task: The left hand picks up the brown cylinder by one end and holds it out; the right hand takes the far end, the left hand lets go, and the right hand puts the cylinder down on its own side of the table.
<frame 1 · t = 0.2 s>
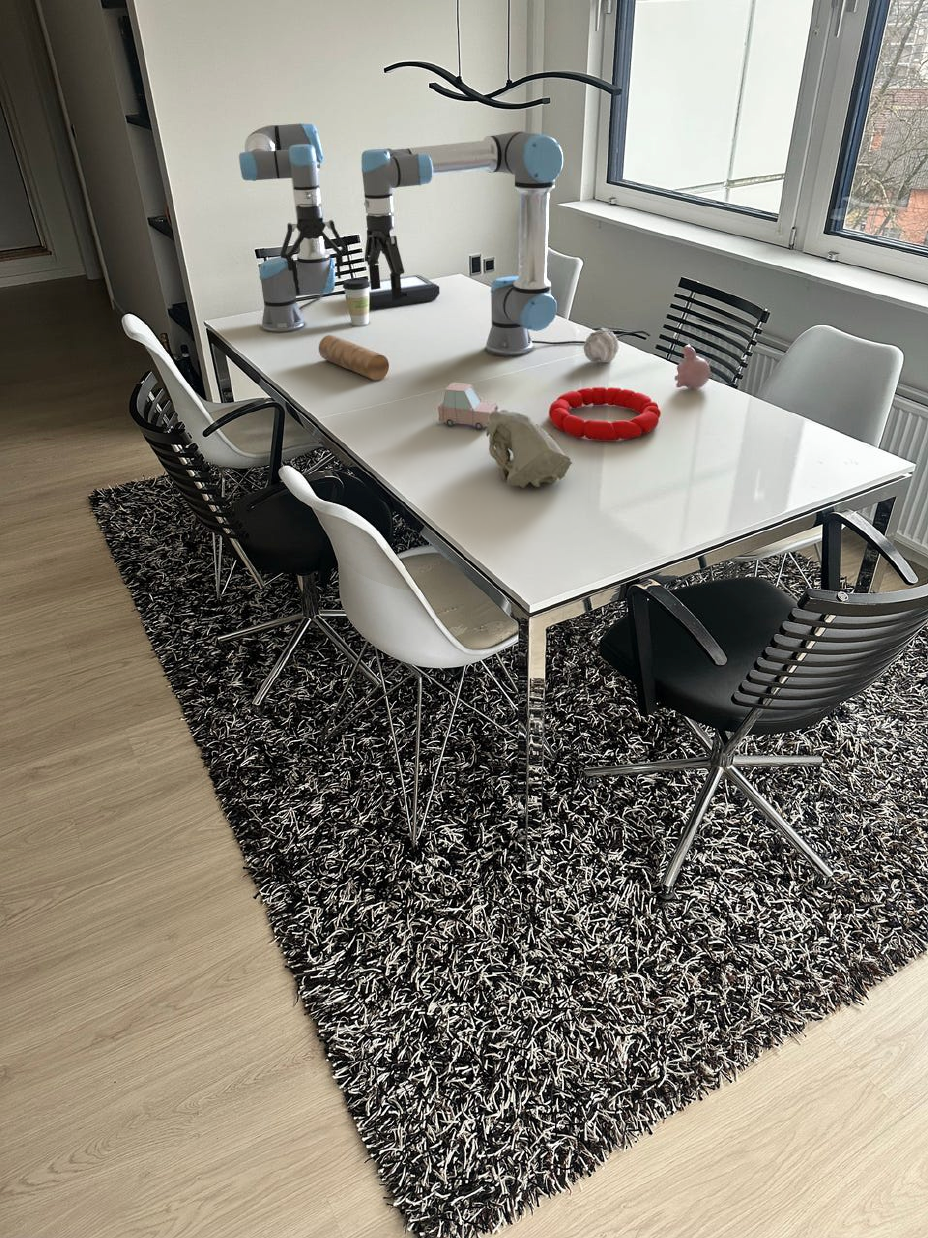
left hand: (317, 279, 273), 27 cm above the table, tool pointing down, fingers open, 13 cm apart
right hand: (386, 293, 254), 28 cm above the table, tool pointing down, fingers open, 13 cm apart
toy car: (468, 423, 246), on the table
electronic device: (393, 300, 351), on the table
brown cylinder: (354, 369, 285), on the table
coffee cup: (360, 323, 327), on the table
figurine: (690, 388, 263), on the table
animal skull: (520, 470, 220), on the table
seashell: (601, 362, 285), on the table
decorative ring: (603, 422, 244), on the table
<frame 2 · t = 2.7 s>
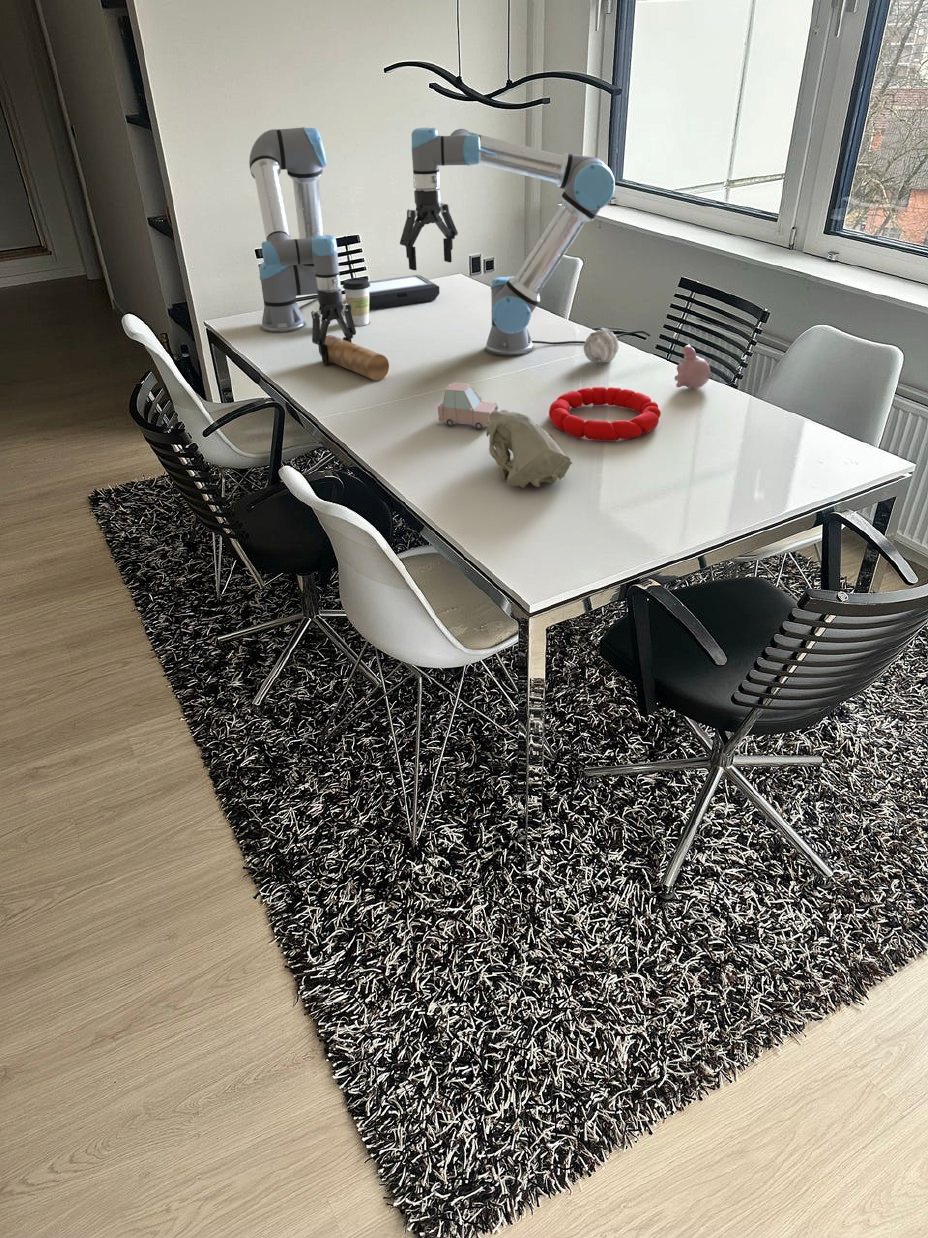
left hand: (337, 360, 292), 0 cm above the table, tool pointing down, fingers closed on brown cylinder, 8 cm apart
right hand: (430, 265, 270), 30 cm above the table, tool pointing down, fingers open, 13 cm apart
brown cylinder: (354, 369, 285), on the table, touching left hand
everything else where it was.
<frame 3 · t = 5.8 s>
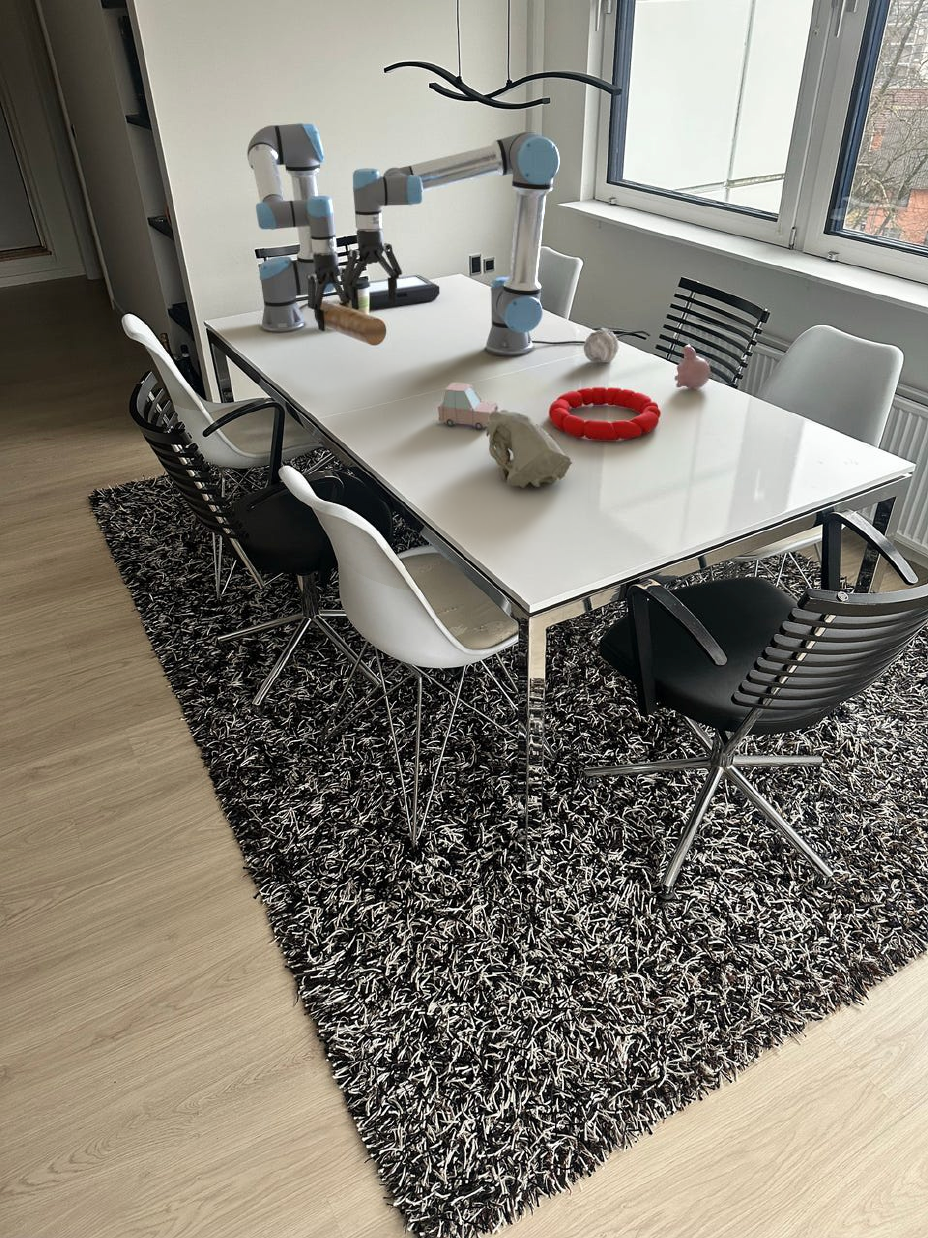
left hand: (333, 326, 285), 11 cm above the table, tool pointing down, fingers closed on brown cylinder, 8 cm apart
right hand: (374, 304, 268), 22 cm above the table, tool pointing down, fingers open, 13 cm apart
brown cylinder: (350, 335, 279), point 11 cm above the table, touching left hand
everything else where it was.
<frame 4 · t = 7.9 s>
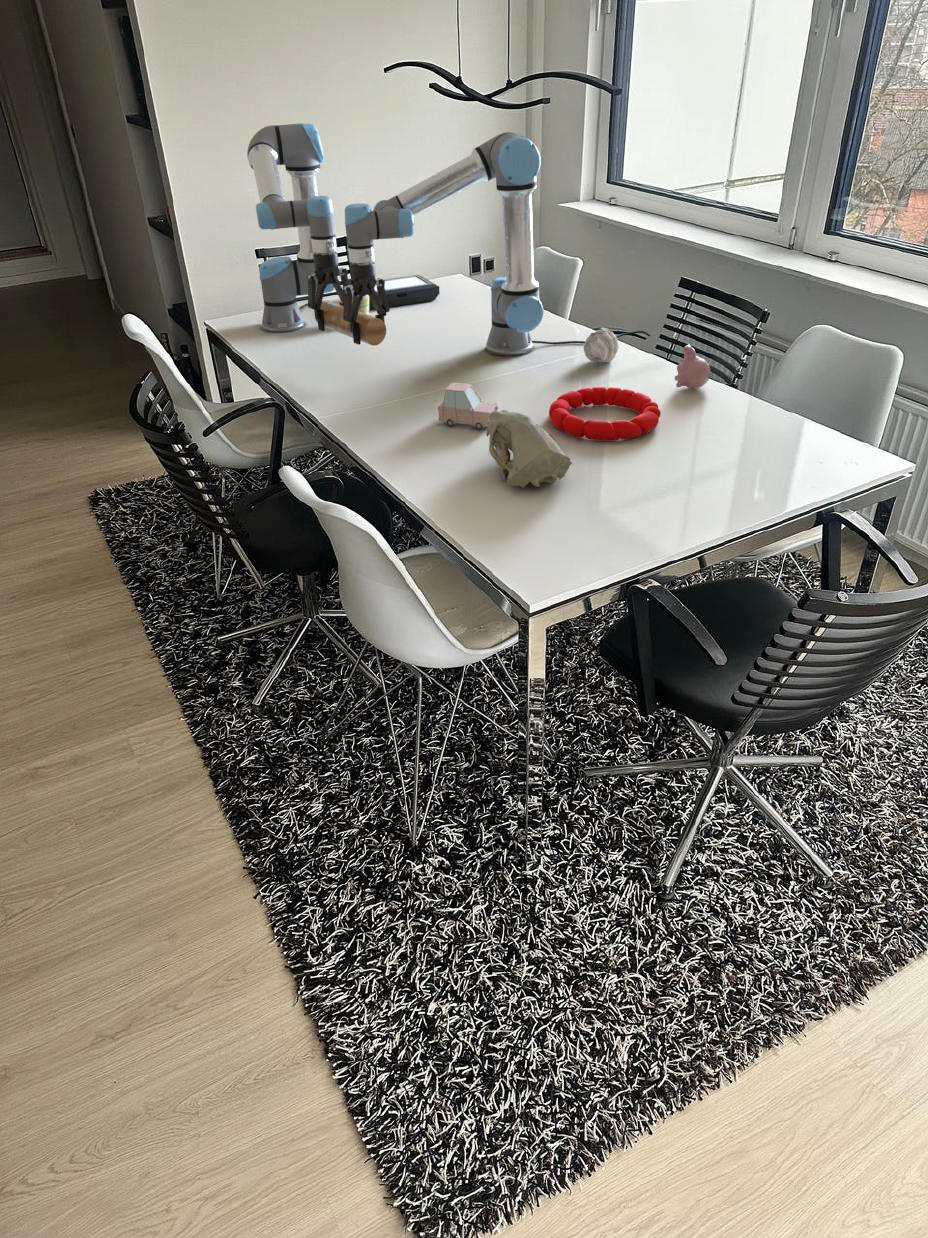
left hand: (333, 326, 285), 11 cm above the table, tool pointing down, fingers closed on brown cylinder, 8 cm apart
right hand: (368, 340, 273), 12 cm above the table, tool pointing down, fingers closed on brown cylinder, 8 cm apart
brown cylinder: (350, 335, 279), point 11 cm above the table, touching left hand, right hand
everything else where it was.
when the left hand's fingers open (11 cm above the table, at t = 8.8 s): brown cylinder stays where it is, held by the right hand.
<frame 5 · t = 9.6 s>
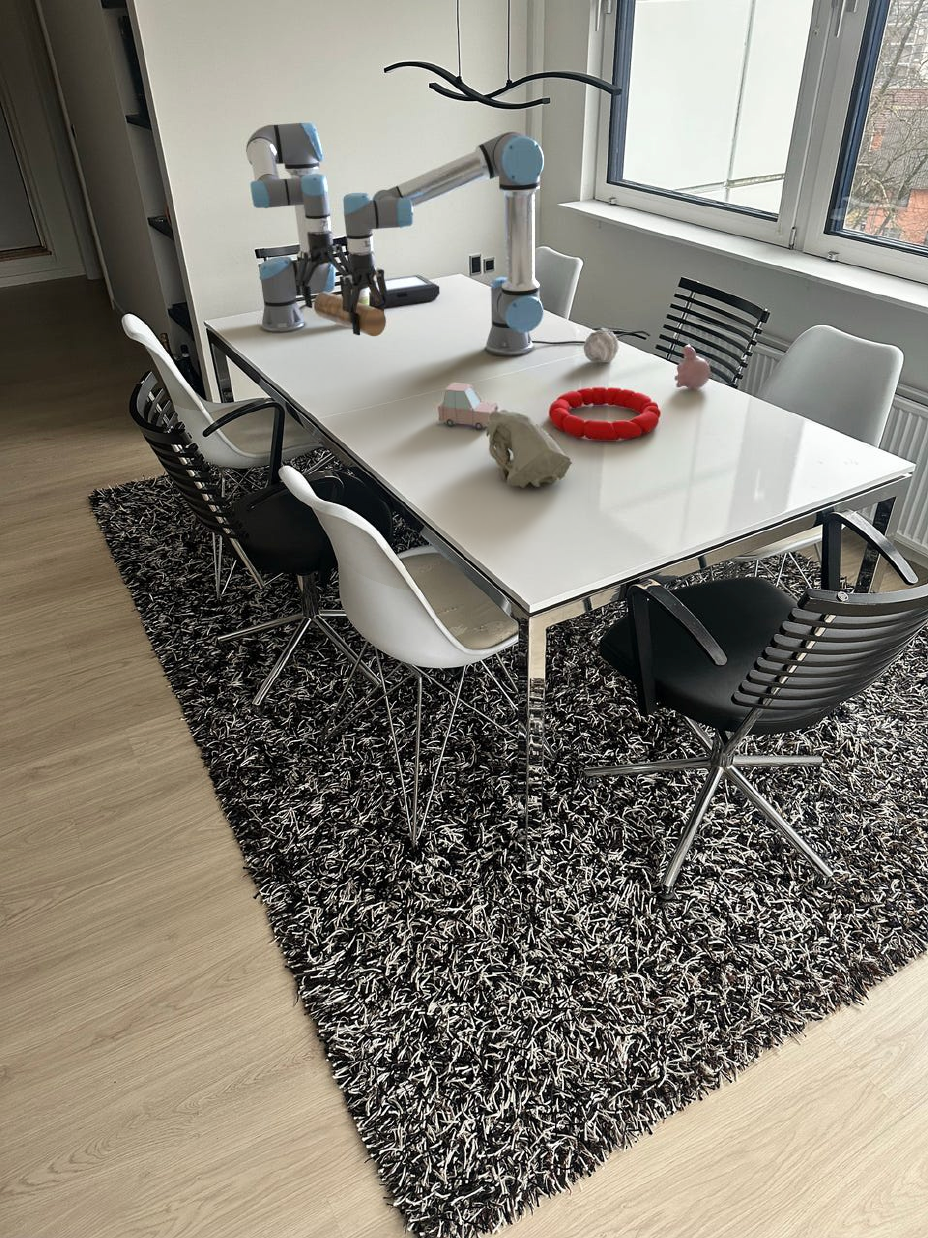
left hand: (327, 302, 283), 19 cm above the table, tool pointing down, fingers open, 13 cm apart
right hand: (368, 330, 271), 14 cm above the table, tool pointing down, fingers closed on brown cylinder, 8 cm apart
brown cylinder: (350, 326, 278), point 14 cm above the table, touching right hand
everything else where it was.
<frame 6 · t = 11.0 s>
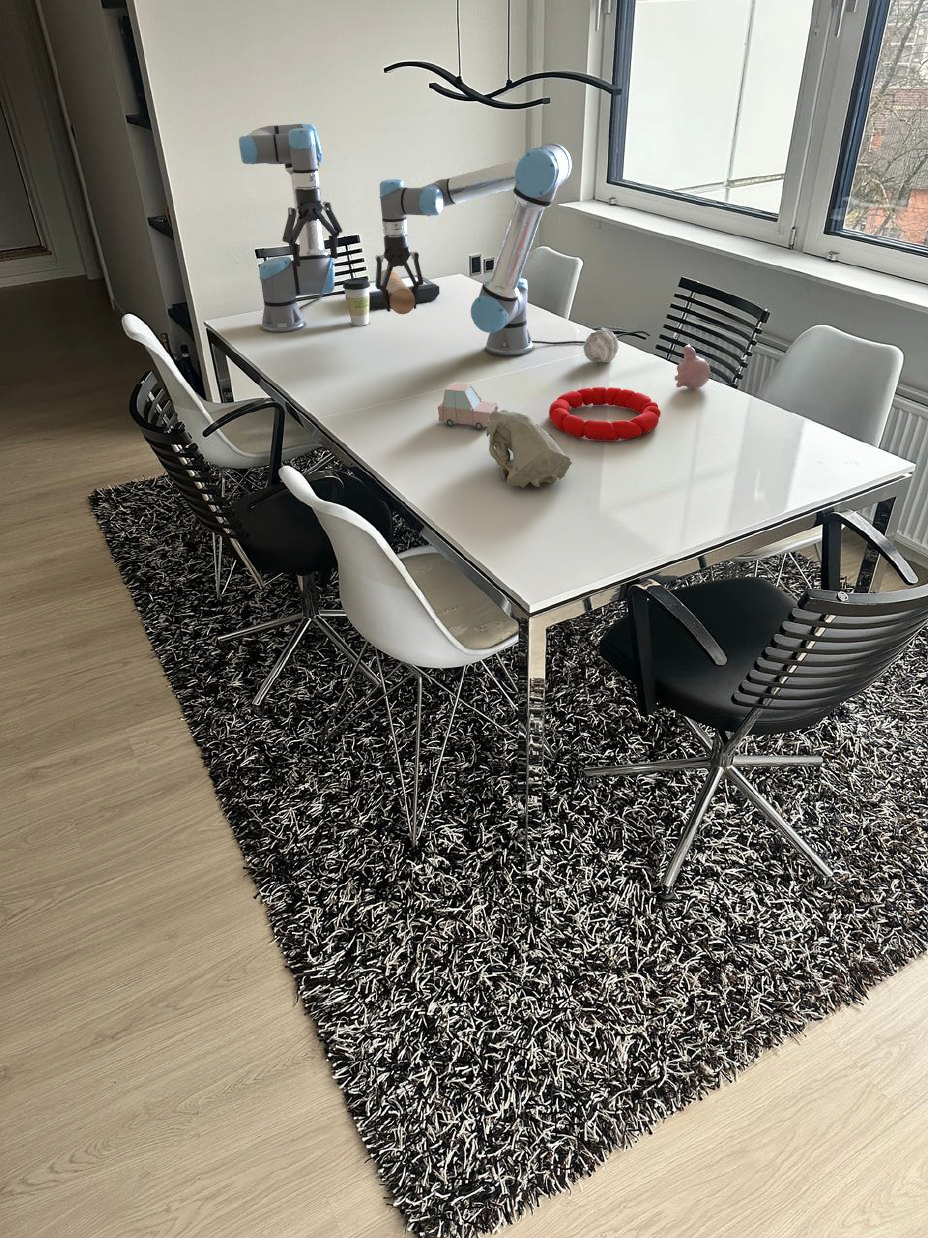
left hand: (316, 261, 278), 30 cm above the table, tool pointing down, fingers open, 13 cm apart
right hand: (401, 308, 291), 14 cm above the table, tool pointing down, fingers closed on brown cylinder, 8 cm apart
brown cylinder: (396, 303, 299), point 13 cm above the table, touching right hand
everything else where it was.
when the right hand's fingers open (2 cm above the table, at t = 14.6 s): brown cylinder drops 1 cm, on the table.
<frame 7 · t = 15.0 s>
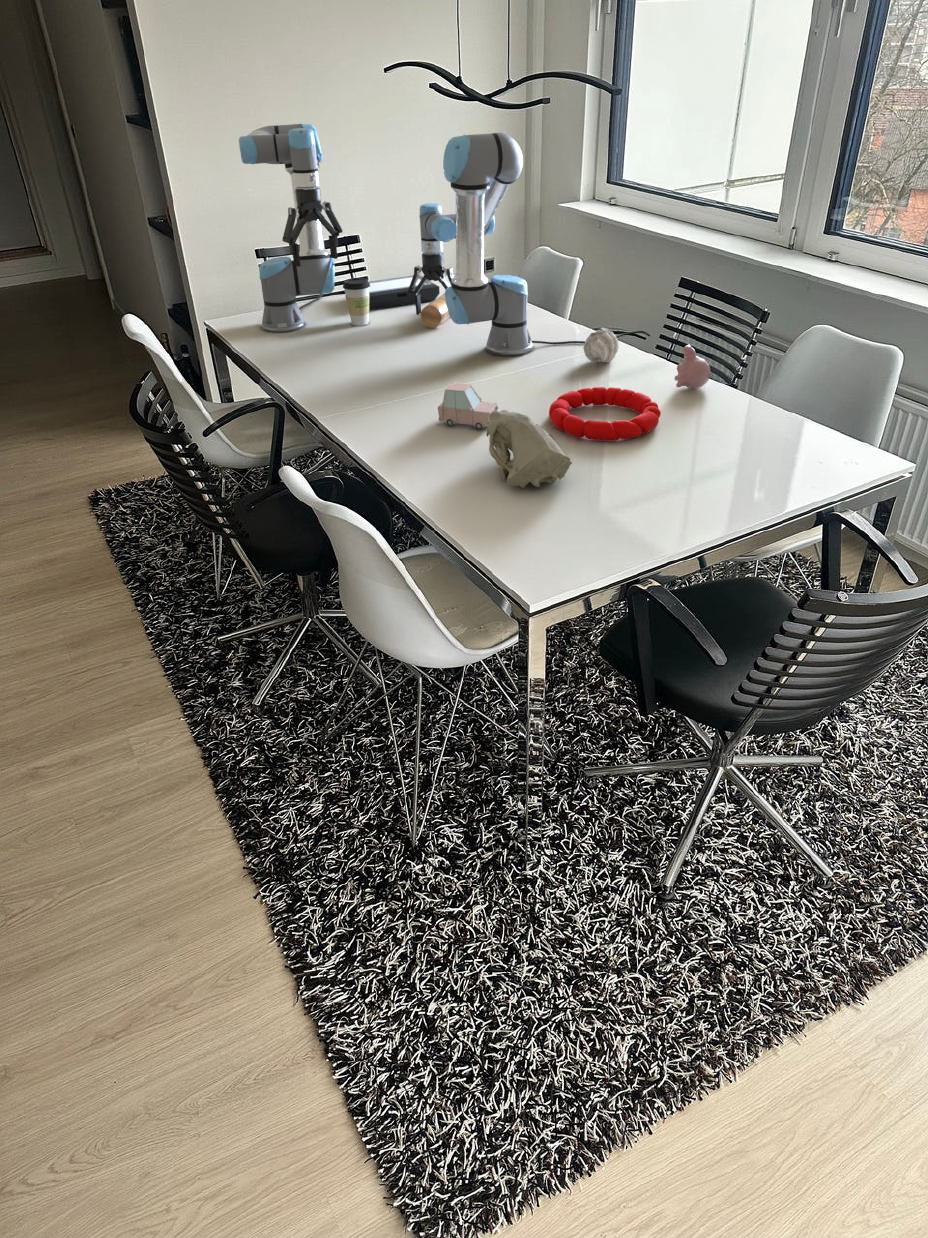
left hand: (316, 261, 278), 30 cm above the table, tool pointing down, fingers open, 13 cm apart
right hand: (435, 315, 321), 3 cm above the table, tool pointing down, fingers open, 12 cm apart
brown cylinder: (446, 317, 331), on the table
everything else where it was.
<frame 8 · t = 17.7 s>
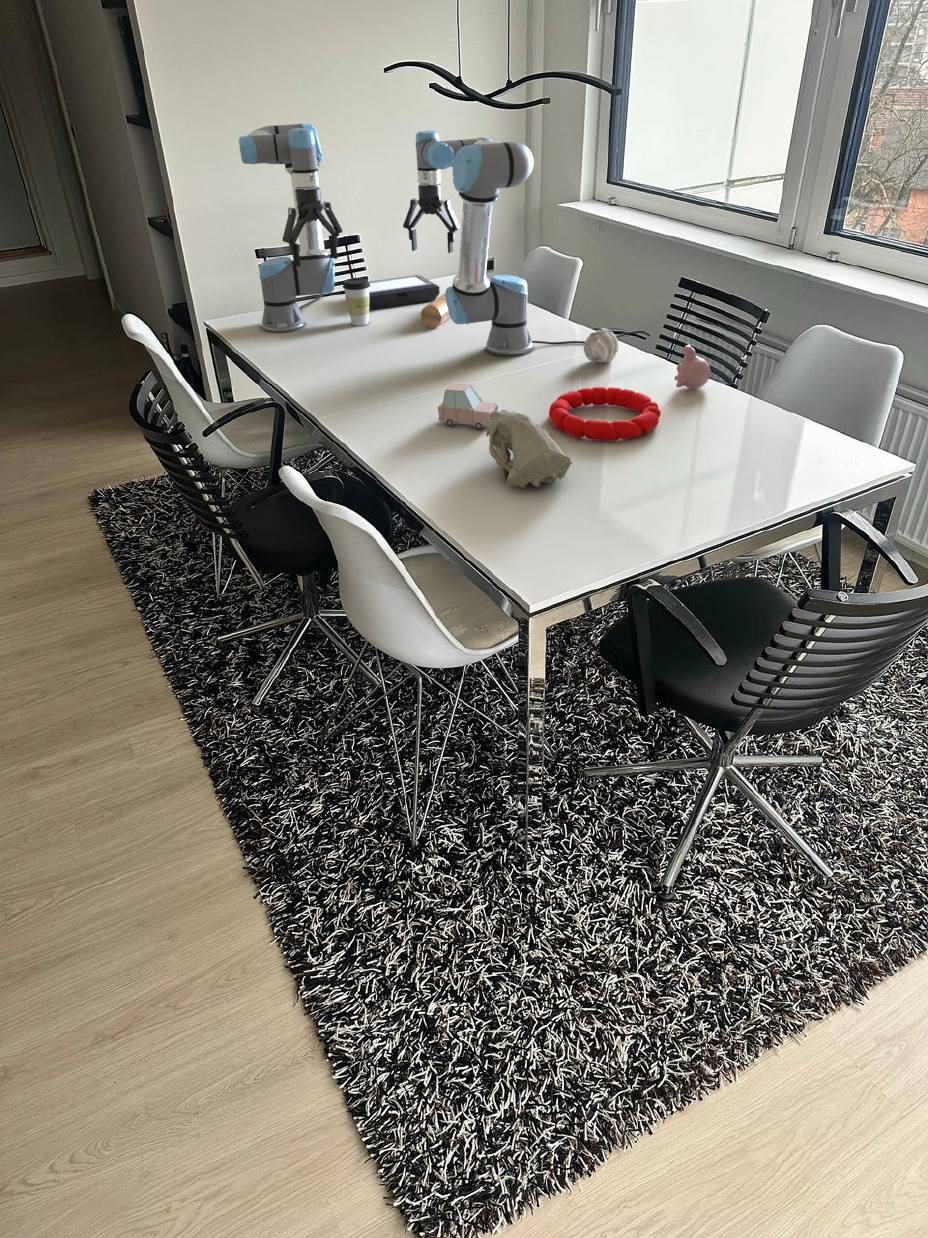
left hand: (316, 261, 278), 30 cm above the table, tool pointing down, fingers open, 13 cm apart
right hand: (432, 250, 309), 25 cm above the table, tool pointing down, fingers open, 13 cm apart
nothing on the table moved.
at the end: brown cylinder inside the target area (9.9 cm from its centre), on the table; the left hand is holding nothing; the right hand is holding nothing; brown cylinder at rest at the end (0.0 cm/s) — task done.
